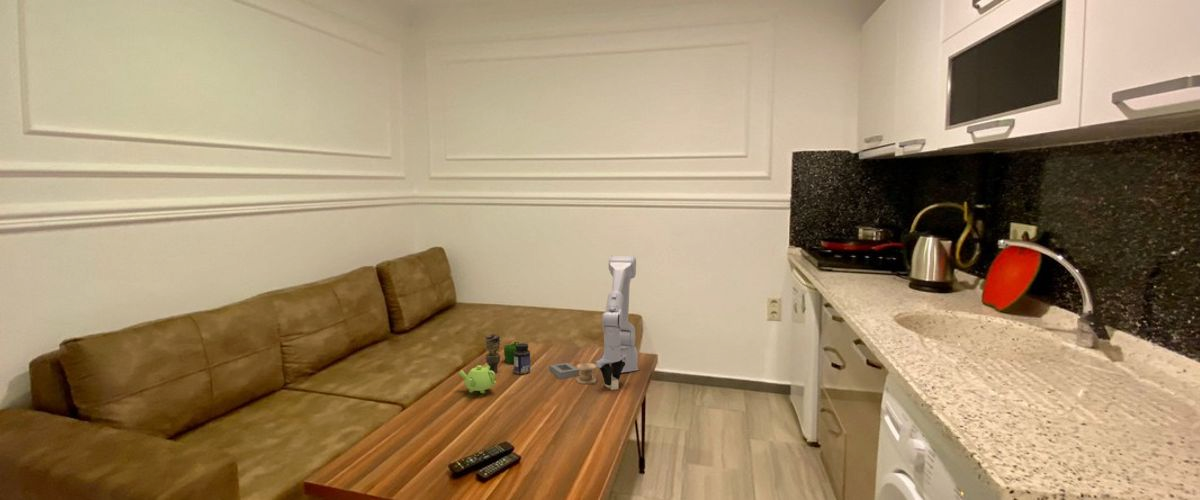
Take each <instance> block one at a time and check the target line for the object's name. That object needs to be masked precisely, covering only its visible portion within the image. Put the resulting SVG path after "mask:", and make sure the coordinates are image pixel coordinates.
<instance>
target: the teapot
mask: <svg viewBox="0 0 1200 500" xmlns="http://www.w3.org/2000/svg"><path fill="white" fill-rule="evenodd" d="M458 374H459V375H460V376H461V377H462V379H463V380H464V386H465V387H466V388H467V389H468V393H474V392H475V391H476V392H477V391H478V392H479V393H480V394H485V393H486V390H490V389H491V388H492V387H493V386H496V385H497V381H496V380H495V378H496V372H493V371H491V370H490V366H489V365H488V364H487V365H485V367H484V366H483V365H481V364H480V365H479V364H478V365H476V366H475V367H473V368H471V369H470V370H469V372H468V374H466V372H464V370H463V369H461V370H460V371H458Z"/></svg>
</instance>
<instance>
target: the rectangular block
mask: <svg viewBox="0 0 1200 500" xmlns="http://www.w3.org/2000/svg"><path fill="white" fill-rule="evenodd" d="M604 386H605V387H606V388H607V389H610V390H612V391H613V390H619V382H618V379H616V378H615V377H613V376H611V385H606V384H605V383H604Z"/></svg>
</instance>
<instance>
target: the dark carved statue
mask: <svg viewBox="0 0 1200 500" xmlns="http://www.w3.org/2000/svg"><path fill="white" fill-rule="evenodd" d="M484 338H485V340H484V341H485V346H486V347H485V350H486V351H488V353H487V354H486V355H485V362H486V364H487V365H488V366H490V369H489V371H490V370H491V371H493V372H494V373H496V372H497V371H498V365H499V363H500V361H501V354H500V353H499V352H498V351H499V350H500V348H501V347H500V345H501V343H500V342H501V340H500V335H498V334H494V333H493V334H492V333H491V334H489V335H485V337H484Z"/></svg>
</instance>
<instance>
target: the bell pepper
mask: <svg viewBox="0 0 1200 500" xmlns="http://www.w3.org/2000/svg"><path fill="white" fill-rule="evenodd" d="M516 344H520V341H518V340H515V341H514V342H513V343H511V344H507V345H506V344H505V345H504V347H503V355H504V360H505V363H506V364H508V365H514V352H515V351H516Z"/></svg>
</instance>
